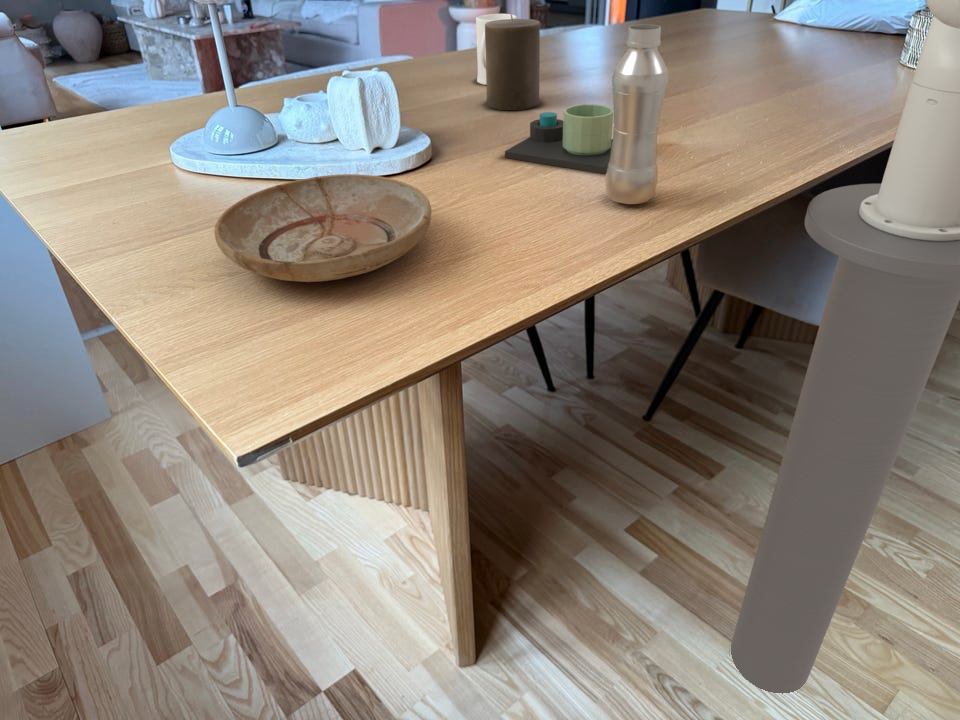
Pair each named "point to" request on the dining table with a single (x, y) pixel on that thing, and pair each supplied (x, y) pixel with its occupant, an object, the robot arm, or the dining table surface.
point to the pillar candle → (512, 63)
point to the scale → (555, 150)
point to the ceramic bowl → (324, 227)
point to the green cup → (587, 129)
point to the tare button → (548, 119)
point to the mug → (481, 42)
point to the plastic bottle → (636, 117)
